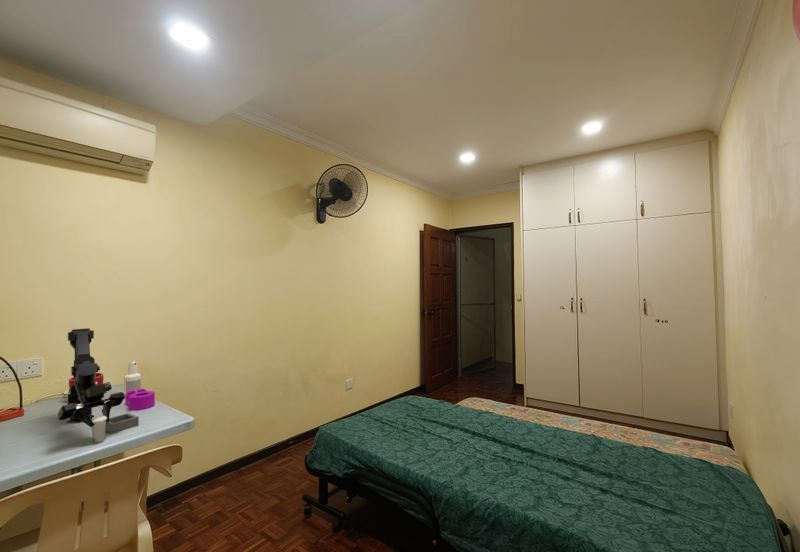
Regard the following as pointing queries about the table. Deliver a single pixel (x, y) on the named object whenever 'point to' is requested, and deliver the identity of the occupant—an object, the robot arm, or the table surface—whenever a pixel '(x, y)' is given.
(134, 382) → the spray bottle
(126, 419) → the collar
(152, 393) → the tape dispenser
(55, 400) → the table surface
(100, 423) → the milkshake
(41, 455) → the table surface
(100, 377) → the plant pot
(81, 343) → the robot arm
